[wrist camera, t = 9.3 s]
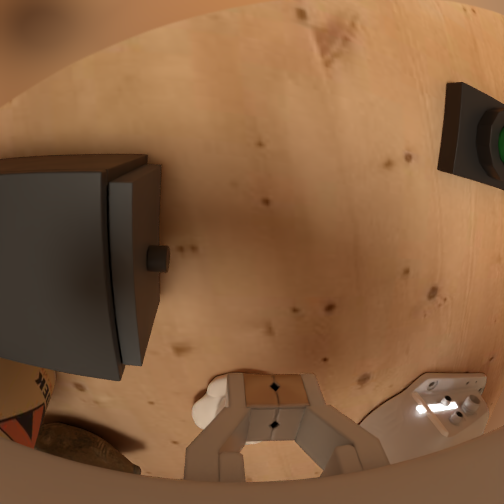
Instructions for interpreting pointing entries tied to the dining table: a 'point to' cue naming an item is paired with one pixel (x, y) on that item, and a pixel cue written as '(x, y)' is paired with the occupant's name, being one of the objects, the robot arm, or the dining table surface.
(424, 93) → the dining table surface
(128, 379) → the dining table surface
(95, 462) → the stone
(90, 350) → the cabinet
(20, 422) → the coffee cup
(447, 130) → the control block
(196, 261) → the dining table surface
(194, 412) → the rose
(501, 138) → the button
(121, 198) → the drawer
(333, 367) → the dining table surface
